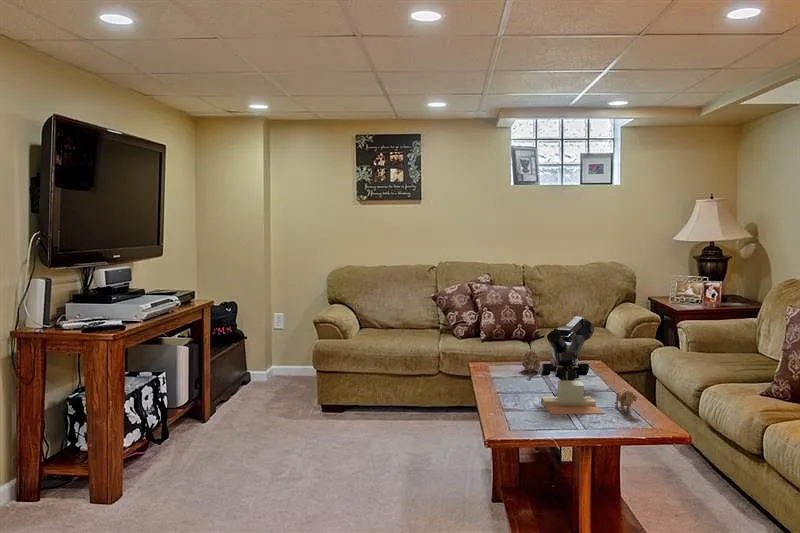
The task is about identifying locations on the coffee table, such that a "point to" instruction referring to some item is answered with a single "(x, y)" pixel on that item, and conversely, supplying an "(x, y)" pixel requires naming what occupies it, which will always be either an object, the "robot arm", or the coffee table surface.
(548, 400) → the birch board
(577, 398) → the green block
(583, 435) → the coffee table surface
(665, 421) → the coffee table surface
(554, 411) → the rubber mat
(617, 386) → the coffee table surface
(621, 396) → the lion figurine
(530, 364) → the pine cone
